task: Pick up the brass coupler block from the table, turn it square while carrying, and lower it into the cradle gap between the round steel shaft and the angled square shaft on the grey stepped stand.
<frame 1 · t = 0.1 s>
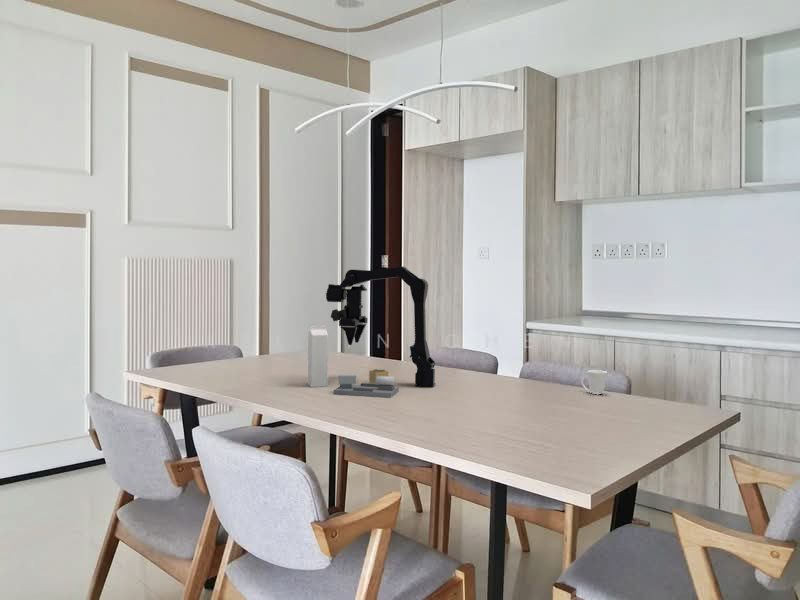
hand: (353, 343, 244), 15 cm above the table, fingers open, 9 cm apart
coupler: (378, 387, 234), on the table
milk: (317, 386, 235), on the table
cup: (593, 394, 228), on the table
grey stepped stand: (366, 392, 222), on the table
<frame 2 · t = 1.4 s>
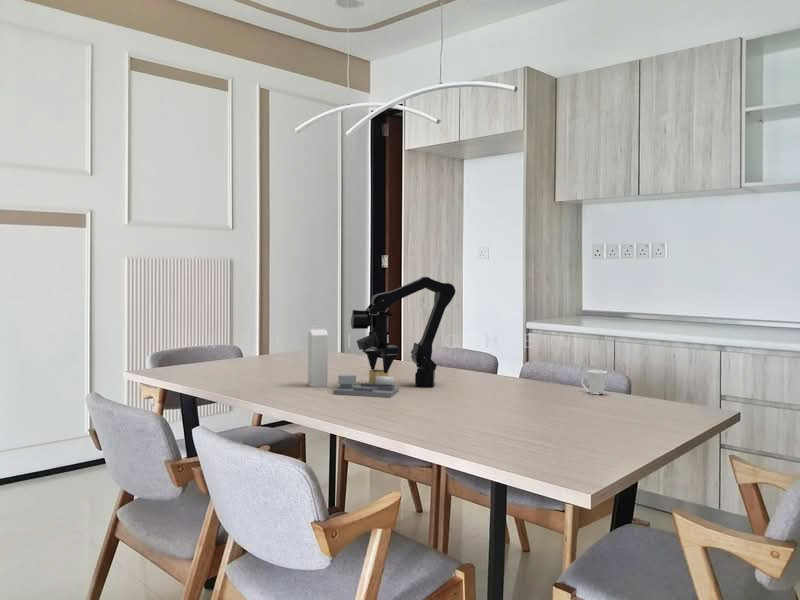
hand: (379, 371, 234), 6 cm above the table, fingers open, 9 cm apart
nothing on the table moved.
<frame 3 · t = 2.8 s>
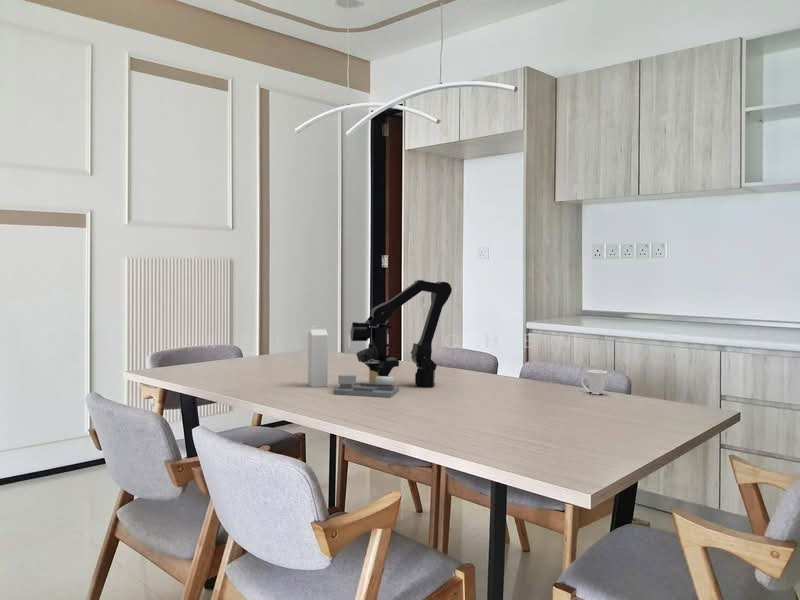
hand: (378, 383, 234), 1 cm above the table, fingers closed on coupler, 5 cm apart
coupler: (378, 387, 234), on the table, touching gripper
everything else where it was.
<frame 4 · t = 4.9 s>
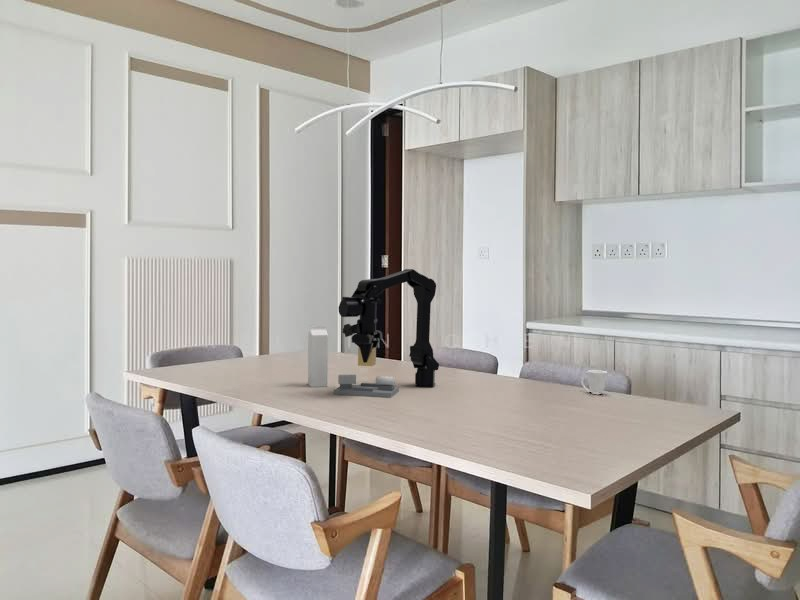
hand: (367, 361, 222), 11 cm above the table, fingers closed on coupler, 5 cm apart
coupler: (366, 364, 222), point 10 cm above the table, touching gripper
everything else where it was.
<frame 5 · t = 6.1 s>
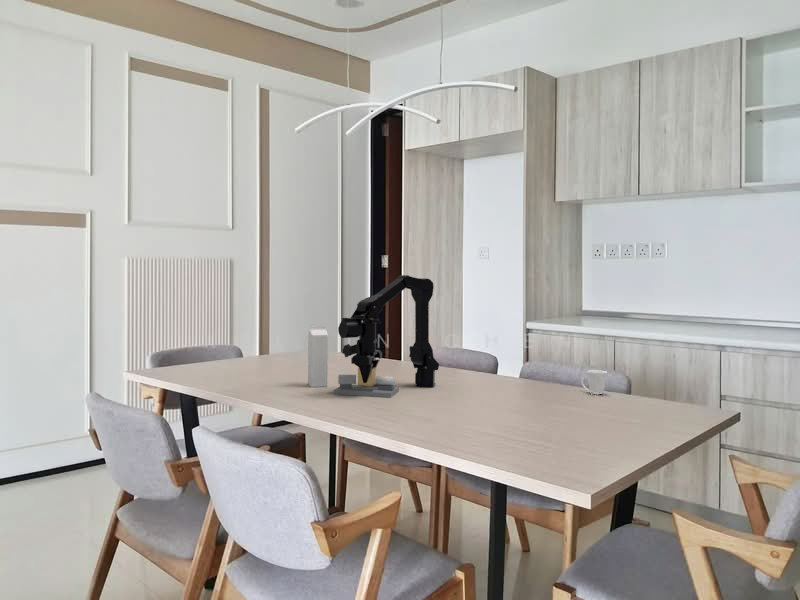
hand: (367, 381, 222), 4 cm above the table, fingers closed on coupler, 5 cm apart
coupler: (366, 385, 222), point 3 cm above the table, touching gripper
everything else where it was.
when the fingers open (4 cm above the table, at t = 6.9 s): coupler stays where it is, resting on grey stepped stand.
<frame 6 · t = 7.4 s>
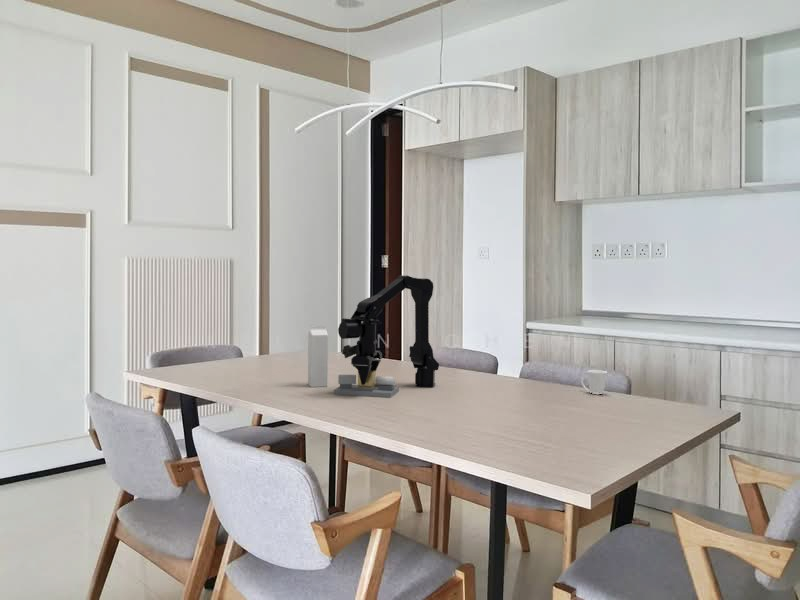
hand: (366, 382, 222), 4 cm above the table, fingers open, 9 cm apart
coupler: (366, 388, 222), point 1 cm above the table, touching grey stepped stand
everything else where it was.
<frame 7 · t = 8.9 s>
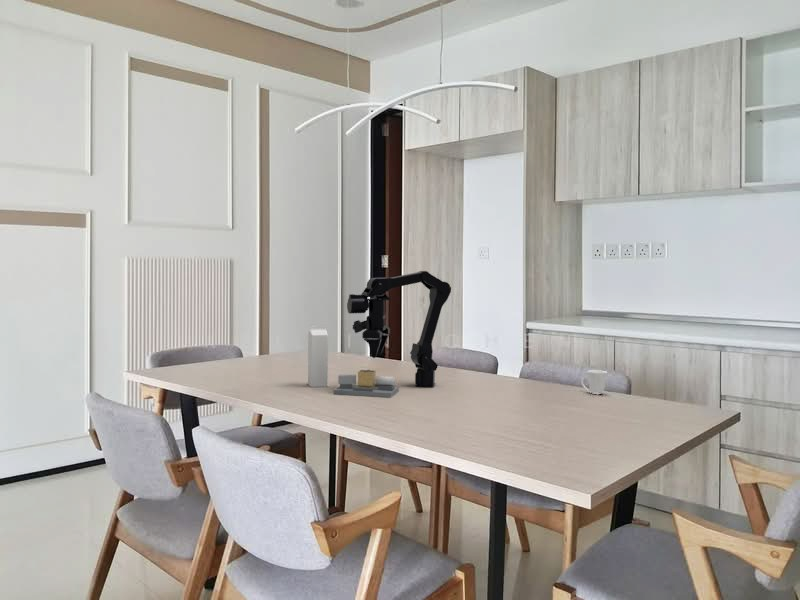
hand: (376, 356, 231), 12 cm above the table, fingers open, 9 cm apart
nothing on the table moved.
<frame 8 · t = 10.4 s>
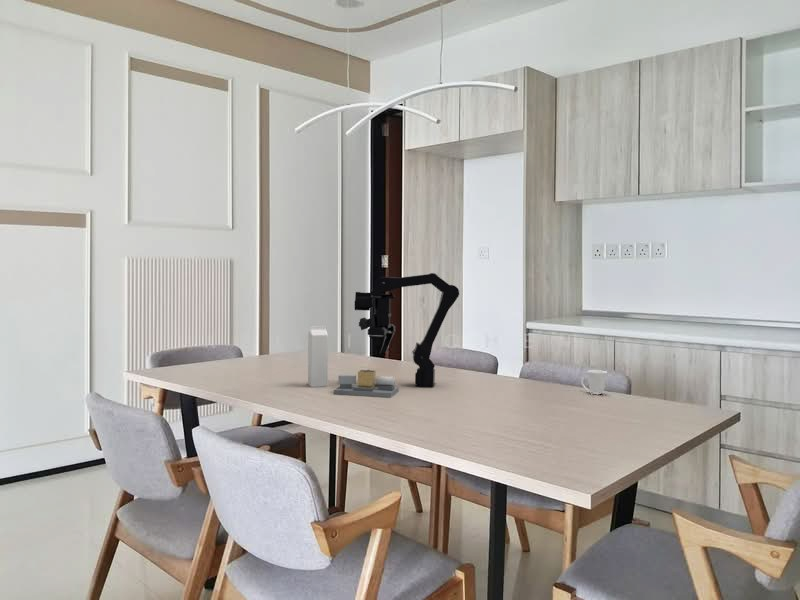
hand: (381, 352, 237), 12 cm above the table, fingers open, 9 cm apart
nothing on the table moved.
at the end: coupler 0.1 cm off-centre on the grey stepped stand, point 1.5 cm above the grey stepped stand's base; coupler tilted 0°; the gripper is holding nothing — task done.
